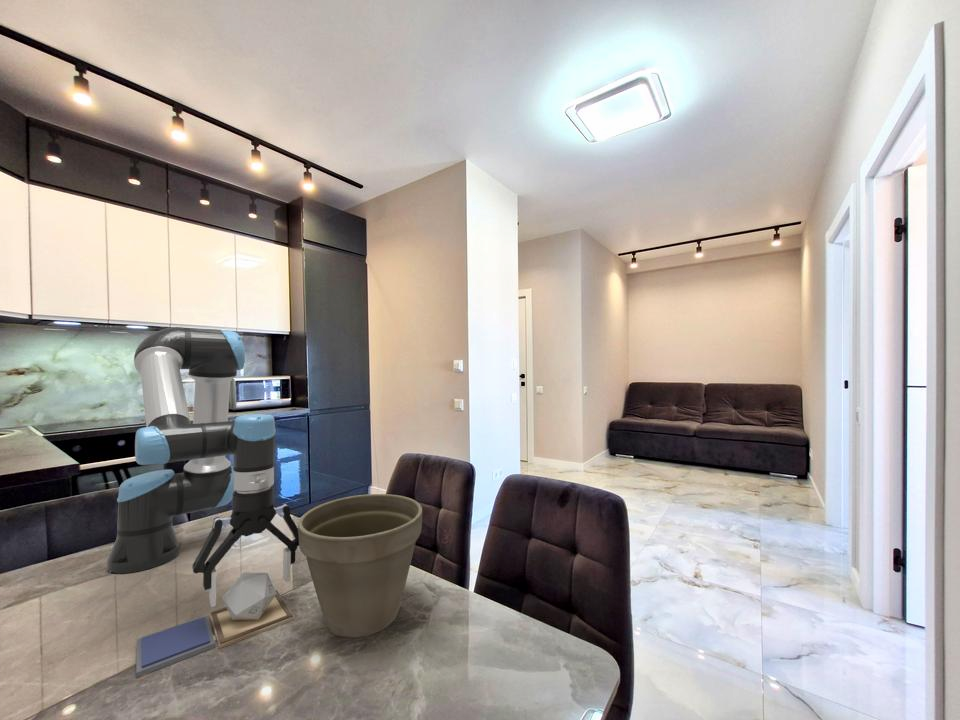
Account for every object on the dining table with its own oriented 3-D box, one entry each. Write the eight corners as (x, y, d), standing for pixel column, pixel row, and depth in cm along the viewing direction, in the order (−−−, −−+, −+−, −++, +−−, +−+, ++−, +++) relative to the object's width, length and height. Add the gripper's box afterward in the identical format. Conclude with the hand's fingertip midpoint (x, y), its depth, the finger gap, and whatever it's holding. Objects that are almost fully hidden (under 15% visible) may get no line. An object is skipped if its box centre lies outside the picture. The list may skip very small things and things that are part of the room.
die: (236, 639, 75) (273, 587, 78) (203, 611, 76) (240, 561, 80) (259, 628, 82) (291, 582, 86) (229, 603, 84) (261, 558, 88)
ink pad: (136, 644, 73) (136, 637, 73) (207, 619, 81) (207, 613, 81) (136, 677, 65) (136, 670, 65) (215, 647, 72) (215, 640, 72)
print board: (209, 616, 82) (209, 612, 82) (277, 593, 90) (277, 589, 90) (219, 648, 72) (219, 643, 72) (294, 619, 80) (294, 615, 80)
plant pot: (368, 678, 65) (369, 545, 66) (267, 637, 75) (269, 523, 76) (444, 599, 87) (443, 501, 88) (358, 576, 98) (359, 488, 99)
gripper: (180, 506, 71) (177, 625, 70) (320, 481, 88) (318, 577, 87) (177, 496, 77) (174, 606, 76) (309, 474, 93) (307, 564, 93)
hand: (251, 591), depth 81 cm, fingers open, 13 cm apart
